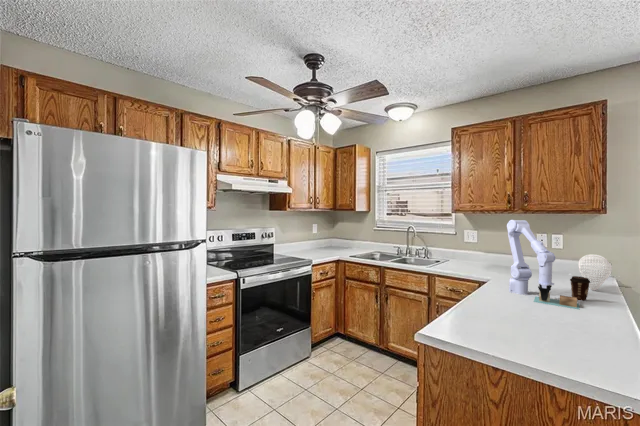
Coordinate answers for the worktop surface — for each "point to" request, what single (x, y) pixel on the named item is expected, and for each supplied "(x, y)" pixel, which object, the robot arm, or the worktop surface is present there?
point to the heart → (591, 257)
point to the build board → (554, 303)
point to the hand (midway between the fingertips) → (544, 299)
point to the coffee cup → (579, 287)
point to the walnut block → (568, 301)
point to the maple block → (544, 300)
